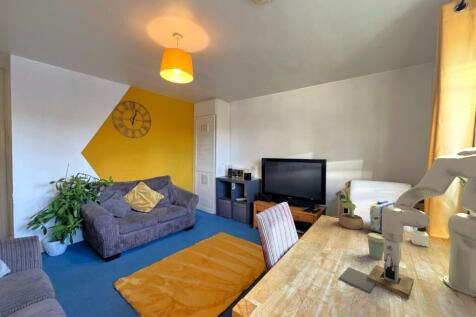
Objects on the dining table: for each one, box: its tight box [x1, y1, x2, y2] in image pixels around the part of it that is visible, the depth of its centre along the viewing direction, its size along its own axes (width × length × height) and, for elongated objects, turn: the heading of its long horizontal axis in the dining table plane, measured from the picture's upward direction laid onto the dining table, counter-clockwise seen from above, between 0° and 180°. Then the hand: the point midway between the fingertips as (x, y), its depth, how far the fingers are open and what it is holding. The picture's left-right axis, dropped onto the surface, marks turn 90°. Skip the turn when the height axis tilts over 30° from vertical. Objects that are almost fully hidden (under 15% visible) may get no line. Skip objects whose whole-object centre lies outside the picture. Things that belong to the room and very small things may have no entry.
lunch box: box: [369, 200, 396, 234], centre depth 143 cm, size 28×10×22 cm, turn 122°
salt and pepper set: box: [410, 226, 430, 248], centre depth 123 cm, size 7×7×12 cm
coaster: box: [338, 266, 376, 294], centre depth 88 cm, size 12×12×1 cm
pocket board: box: [367, 264, 415, 300], centre depth 86 cm, size 14×14×2 cm
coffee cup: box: [366, 232, 384, 261], centre depth 107 cm, size 8×9×12 cm
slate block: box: [383, 261, 400, 285], centre depth 86 cm, size 4×4×8 cm
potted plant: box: [334, 188, 365, 230], centre depth 150 cm, size 22×18×30 cm
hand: (391, 275), depth 86 cm, fingers closed on slate block, 4 cm apart
